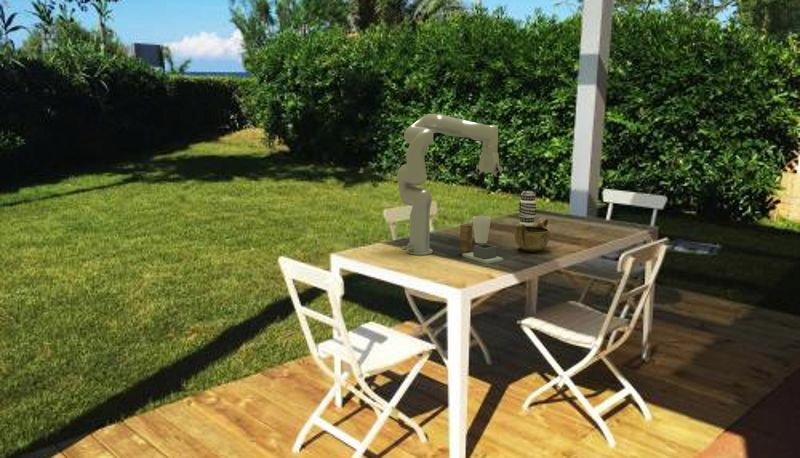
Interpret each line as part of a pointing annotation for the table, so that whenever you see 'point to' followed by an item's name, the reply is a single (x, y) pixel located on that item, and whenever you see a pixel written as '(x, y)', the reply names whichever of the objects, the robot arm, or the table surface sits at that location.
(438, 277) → the table surface
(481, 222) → the foam cup
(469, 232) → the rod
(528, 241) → the brown round bowl
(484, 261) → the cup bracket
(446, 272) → the table surface
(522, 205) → the decorative candle
